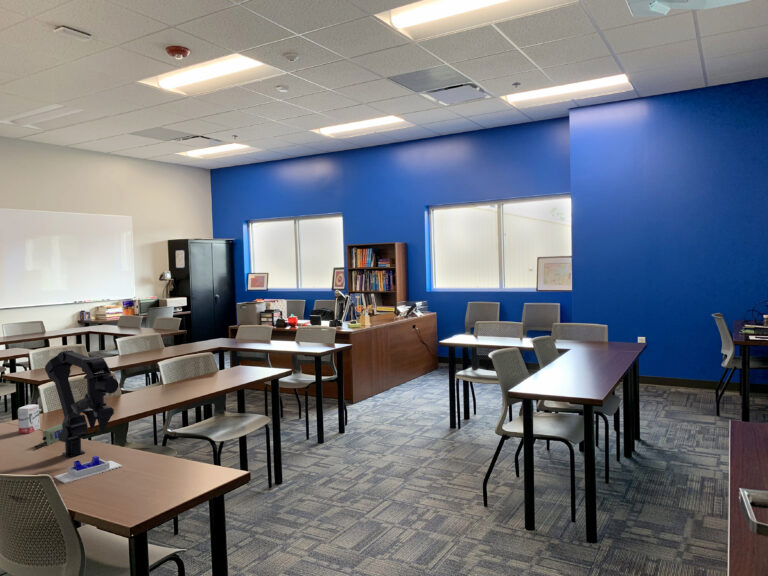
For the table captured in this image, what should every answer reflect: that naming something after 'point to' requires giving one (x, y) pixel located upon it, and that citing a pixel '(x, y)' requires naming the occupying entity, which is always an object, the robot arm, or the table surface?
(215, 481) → the table surface
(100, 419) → the robot arm
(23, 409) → the ink box
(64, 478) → the desk organizer
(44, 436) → the handheld radio
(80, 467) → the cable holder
